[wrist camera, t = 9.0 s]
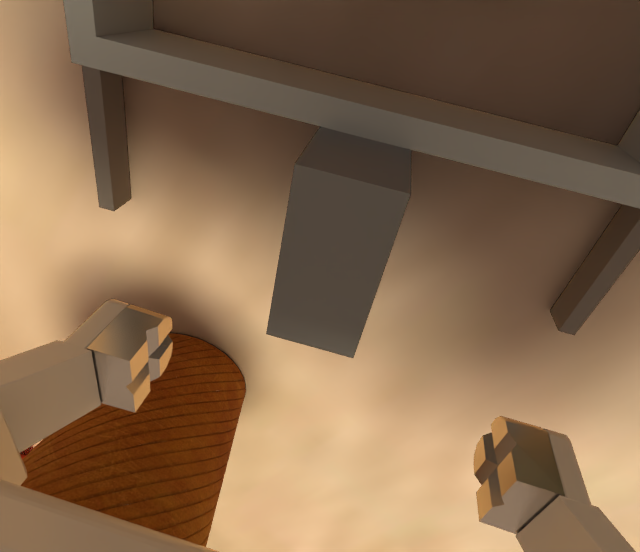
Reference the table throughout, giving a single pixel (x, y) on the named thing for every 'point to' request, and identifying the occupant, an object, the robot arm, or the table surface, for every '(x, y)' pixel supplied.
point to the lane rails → (568, 312)
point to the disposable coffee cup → (151, 448)
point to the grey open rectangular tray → (344, 157)
